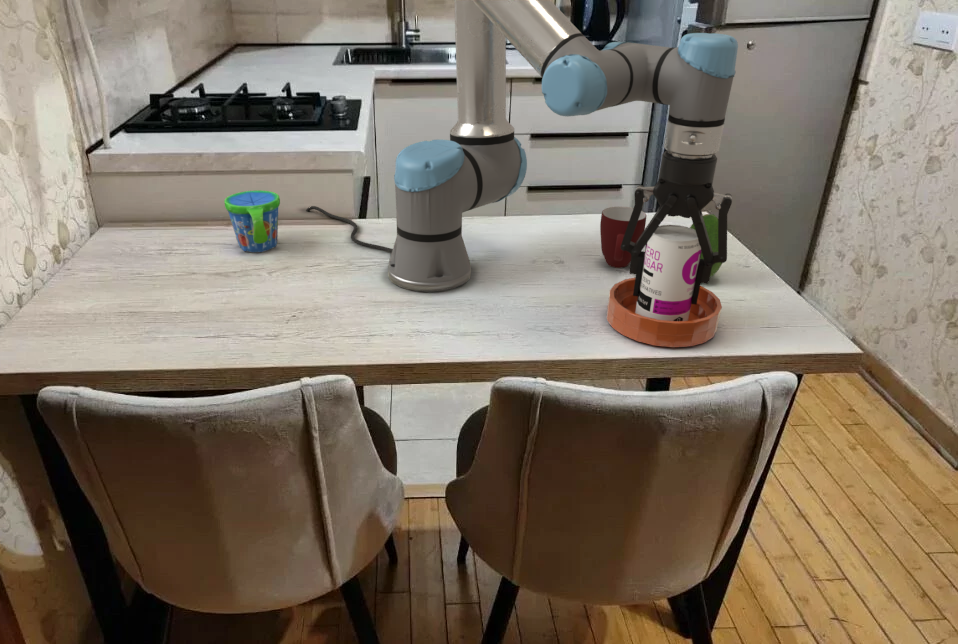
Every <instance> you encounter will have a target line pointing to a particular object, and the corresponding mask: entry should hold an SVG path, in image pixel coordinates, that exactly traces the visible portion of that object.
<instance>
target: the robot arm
mask: <svg viewBox="0 0 958 644" xmlns="http://www.w3.org/2000/svg"><path fill="white" fill-rule="evenodd" d="M453 1H454V7H453V8H454V36H455V39H454V40H455V68H456V69H455V70H456V71H455V73H456V101H457V103H456V104H457V121H456V122H455V124H453V126H452V127H451V128H450V130H449V139H432V140H422V141H419V142H415V143H413V144H410V145H408V146H406V147H404V148H403V149H402V150H400V152H399V153H398V154H397V156H396V159H395V170H394V171H395V172H394V175H393V176H394V177H393V179H394V188H395V190H394V191H395V210H396V213H395V215H396V236H395V237H396V238H395V241H394V243H393V247H392V248H391V247H388V246H387V247H386V246H383V245H378V244H372V243H369V242H365V241H361V240H359V239H357V238H356V237H355V235H356V233H357V231H358V229H359V228H358V224H357V223H356V222H354V221H353V220H351V219H348V218H346V217H342V216H339V215H335V214H332V213H330V212H329V211H327V210H325V209H323V208H321V207H319V206H317V205H316V206H315V205H310V206H311V207H310V206H308V207H307V208H306V209H305V212H310V211H312V210H315V211H318V212H319V213H321V214H323V215H325V216H327V217H329V218H332V219H334V220H338V221H340V222H341V221H342V222H345V223H348V224H350V225H352V226H353V230H352V231H351V233H350V240H351V241H352V242H354V243H355V244H357V245H359V246H362V247H367V248H371V249H376V250H380V251H385V252H387V253H388V252H389V253H391V254H390V257H389V260H388V264H387V277H388V279H389V281H391V283H392V284H394V285H396V286H397V287H400V288H403V289H405V290H409V291H416V292H426V293H428V292H429V293H431V292H433V293H435V292H445V291H448V290H453V289H457V288H459V287H461V286H463V285H465V284H466V283H467V282H468V281H469V280H470V279H471V276H472V264H471V261H470V258H469V253H468V251H467V248H466V245H465V242H464V238H463V233H462V232H463V213H466V212H469V211H472V210H474V209H477V208H480V207H483V206H486V205H491V204H495V203H498V202H501V201H502V200H503V201H504V199H506V198H508V197H510V196H512V195H514V194H515V193H516V192H517V191H518V190H519V189H520V187H521V186H522V185H523V182H524V181H525V178H526V174H527V169H528V159H527V158H528V157H527V153H526V150H525V148H523V147H522V143H521V141H520V140H519V139H518V138H517V137H516V136H515V126H513V125H512V124H511V123H510V122H509V121H508V120H507V41H508V42H509V43H510V44H511V45H512V46H513V47H514V48H515V49H516V50H517V52H518V53H519V54H520V56H522V57H523V58H524V60H525V61H526V62H527V63H528V64H529V65H530V66H531V68H532V69H534V71H536V73H537V74H538V75H539V76H540V77H541V78H542V79H541V93H542V95H543V98H544V103H545V105H546V106H547V108H549V109H550V111H552V112H553V113H554V114H556V115H558V116H561V117H576V116H577V117H578V116H588V115H591V114H592V113H595V112H598V111H601V110H605V109H608V108H612V107H618V106H621V105H624V104H625V105H626V104H628V103H633V102H645V103H651V104H652V103H653V104H659V105H666V106H667V105H668V106H669V108H668V109H669V110H668V118H667V123H666V129H665V137H664V142H663V148H664V149H665V151H664V152H663V153H662V156H661V161H660V168H659V173H658V180H657V182H656V183H655V184H654V186H644V185H643V184H639V185H637V186H636V187H635V190H634V206H633V208H634V209H633V212H632V215H631V217H630V220H629V223H628V226H627V229H626V232H625V235H624V238H623V241H622V244H621V247H620V248H621V250H623V251H628V252H629V253H630V254H631V262H630V263H629V274H630V275H635V277H636V278H635V285H634V292H633V296H638V293H639V286H640V280H641V273H642V267H643V261H644V253H645V251H643V250H644V249H645V247H646V244H647V242H648V241H649V239H650V238H651V236H652V235H653V233H654V232H655V231H656V229H657V228H658V226H661V224H662V222H663V221H664V220H665V218H666V217H667V216H668V217H680V218H681V217H682V218H684V219H691V222H692V224H693V225H694V227H695V230H696V234H697V237H698V241H699V244H700V247H701V251H702V255H703V258H704V259H700V262H699V267H698V272H697V277H696V282H695V287H694V292H693V297H692V303H691V304H695V305H696V304H697V299H698V294H699V289H700V286H701V284H705V285H707V284H708V283H709V282H710V280H711V277H710V275H711V270H712V266H713V265H714V264H715V263H719V262H720V263H722V264H724V263H726V262H727V260H728V214H729V211H730V209H731V206H732V203H733V195H732V194H730V193H724V194H722V193H718V192H715V189H714V188H713V183H714V177H715V173H716V169H717V162H718V157H717V155H716V154H717V153H718V152H719V151H720V149H721V148H720V147H721V143H722V138H723V132H724V127H725V120H726V115H727V114H726V113H727V109H728V105H729V99H730V97H731V96H730V95H731V91H732V86H733V81H734V77H735V75H736V63H737V58H738V57H737V56H738V49H739V44H738V43H739V42H738V40H737V39H736V38H735V37H734V36H733V35H730V34H725V33H710V32H709V33H707V32H693V33H692V32H691V33H687V34H684V35H683V36H682V37H681V38H680V41H679V43H678V44H679V45H678V46H677V47H670V46H669V47H668V46H663V45H662V46H661V45H651V44H647V43H646V44H645V43H637V42H635V41H631V40H630V41H612V42H608V43H607V44H606V45H605V46H604V47H603V49H601V50H599V49H597V47H596V46H595V45H594V44H593V43H592V42H591V41H590V40H589V39H588V38H586V36H585V35H584V34H583V33H582V32H581V31H580V30H579V29H578V28H577V27H576V26H575V25H574V23H572V21H571V20H570V19H569V18H568V17H567V16H566V15H565V14H564V13H563V12H562V10H560V9H559V7H557V6H556V4H555V3H554V2H553V1H552V0H453ZM651 196H654V198H655V199H656V201H657V203H658V205H659V207H658V208H657V210H656V212H655V213H654V215H653V216H652V218H651V219H650V221H649V222H648V224H647V225H646V226H645V230H644V231H643V233H642V234H641V236H640V237H639V239H638V240H637V242H636V243H634V242H632V241H631V239H632V236H633V233H634V230H635V228H636V225H637V222H638V219H639V216H640V213H641V211H643V207H644V205H645V203H647V202H649V201H650V198H651ZM711 202H713V203H714V208H715V210H717V211H718V215H717V216H718V217H717V218H718V252H714V253H713V251H712V247H711V244H710V240H709V237H708V233H707V230H706V226H705V223H704V219H703V215H704V214H703V212H702V210H703V209H704V208H705V207H706V206H708V205H709V204H710V203H711ZM309 207H310V208H309Z"/></svg>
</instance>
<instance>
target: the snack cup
mask: <svg viewBox="0 0 958 644" xmlns="http://www.w3.org/2000/svg"><path fill="white" fill-rule="evenodd" d="M280 204H281V198H280V195H279V194H278V193H277V192H274V191H269V190H261V189H260V190H259V189H257V190H246V191H240V192H236V193H233V194H230V195H228V196H226V197H225V198H224V208H225V209H226V211H227V212H228V215H229V220H230V222H231V224H232V229H233V231H234V234H235V238H236V241H237V244H238V247H239V249H240V250H242V251H243V252H249V253H263V252H268V251H270V250H272V249H273V248H276V247H277V244H278V237H279V207H280Z"/></svg>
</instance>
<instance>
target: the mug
mask: <svg viewBox="0 0 958 644" xmlns="http://www.w3.org/2000/svg"><path fill="white" fill-rule="evenodd" d="M633 209H634V207H630V206H610V207H607V208H606V207H605V208H604V209H603V210H602V211H601V216H600V224H599V229H600V230H599V231H600V232H599V233H600V248H601V252H602V253H601V254H602V256H603V258H604V261H605V263H606V264H607V266H609V267H611V268H615V269H625V268H626V267H628V266H630V262H631V254H630V253H629V252H628V251H623V250H621V248H620V247H621V244H622V241H623V238H624V235H625V232H626V229H627V226H628V223H629V220H630V217H631V215H632V212H633ZM647 218H648V217H647V213H646V212H645V211H643V210H642V211H641V213H640V216H639V219H638V222H637V225H636V228H635V230H634V233H633V236H632V239H631V241H632V242H634V243H636V242H637V240H638V239H639V237H640V236H641V234H642V233H643V231H644V230H645V228H646V223H647Z"/></svg>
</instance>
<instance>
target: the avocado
mask: <svg viewBox="0 0 958 644" xmlns="http://www.w3.org/2000/svg"><path fill="white" fill-rule="evenodd" d="M703 219H704V223H705V226H706V230H707V233H708V237H709V240H710V244H711V247H712V251H713V253H714V252H718V217H717V216H716V215H715V214H714V213H713V214H711V213H707V214H703ZM689 228H692V229H694V230H695V227H694V225H693V223H692V224H691V225H690V226H689ZM700 259H704V258H703V255H702V252H701V257H700ZM722 265H723V263H720V262H719V263H715V264H714V265H713V266H712V270H711V275H710V278H711V277H713V276H715V275H716V274H717V273H718V271H719V270H720V268H721V266H722Z"/></svg>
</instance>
